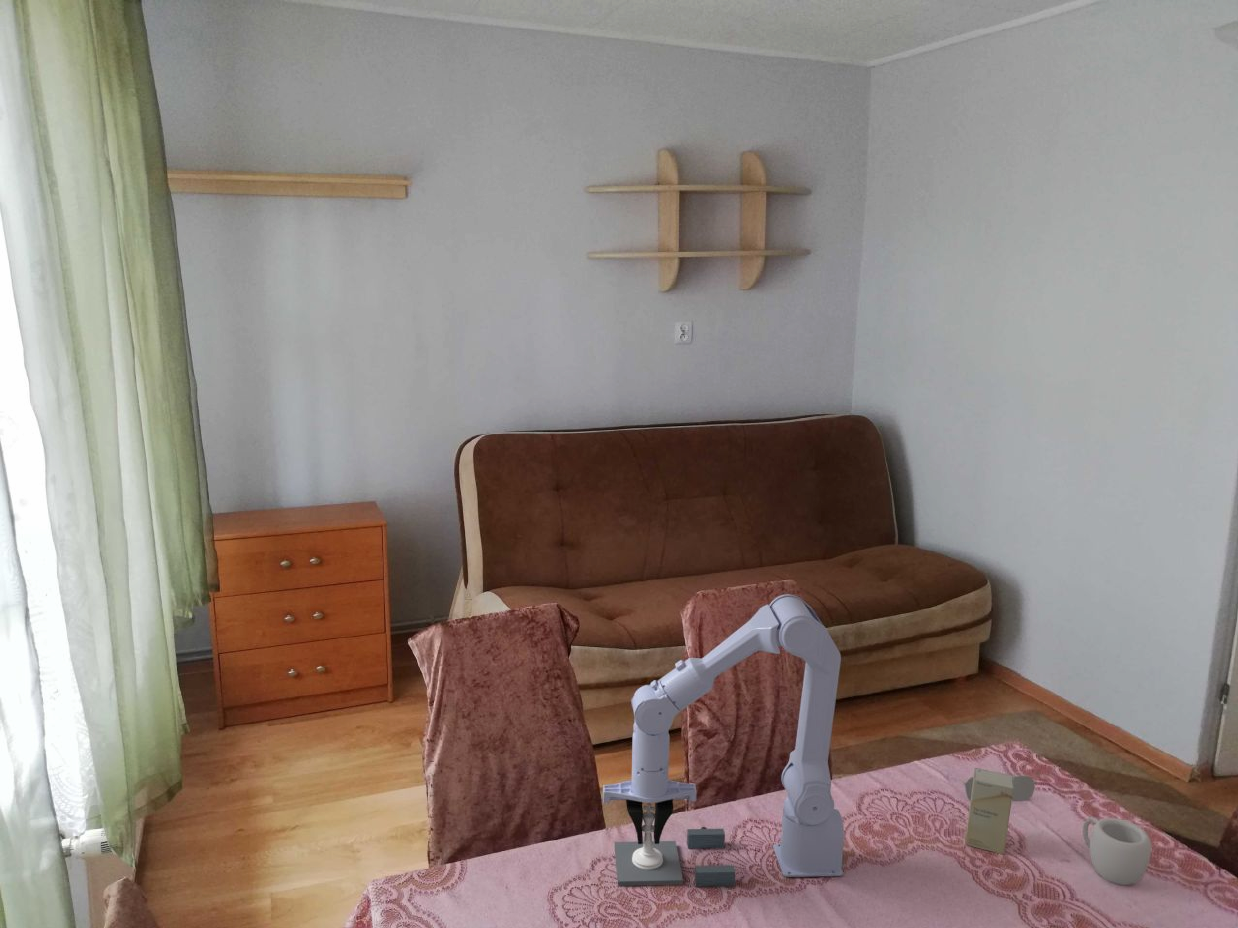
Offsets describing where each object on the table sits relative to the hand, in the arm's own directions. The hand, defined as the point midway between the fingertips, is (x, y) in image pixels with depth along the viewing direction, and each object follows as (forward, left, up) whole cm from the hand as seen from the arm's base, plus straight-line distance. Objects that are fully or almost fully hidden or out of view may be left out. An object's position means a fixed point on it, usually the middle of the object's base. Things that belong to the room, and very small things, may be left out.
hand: (648, 840), depth 150 cm
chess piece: (0, 0, -4) cm, 4 cm away
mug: (-74, +3, -5) cm, 74 cm away
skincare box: (-57, -4, -5) cm, 57 cm away
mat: (0, 0, -4) cm, 4 cm away
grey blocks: (-10, 0, -4) cm, 11 cm away
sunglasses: (-65, -20, -5) cm, 68 cm away
